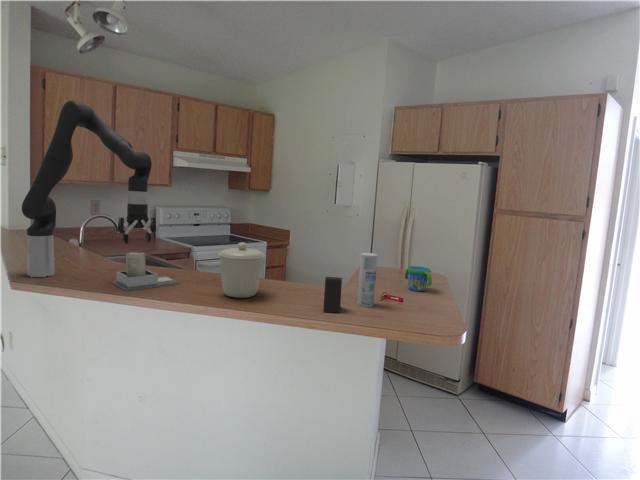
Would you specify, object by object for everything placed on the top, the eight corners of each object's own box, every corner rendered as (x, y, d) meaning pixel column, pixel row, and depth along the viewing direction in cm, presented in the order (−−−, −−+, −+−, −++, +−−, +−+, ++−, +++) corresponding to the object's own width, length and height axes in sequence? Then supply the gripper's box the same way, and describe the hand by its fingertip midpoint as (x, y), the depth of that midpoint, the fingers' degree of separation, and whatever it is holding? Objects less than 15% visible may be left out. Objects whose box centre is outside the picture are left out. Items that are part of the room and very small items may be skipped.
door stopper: (323, 305, 162) (325, 274, 160) (339, 306, 162) (341, 275, 160) (323, 312, 153) (325, 279, 151) (339, 313, 153) (342, 280, 151)
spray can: (362, 307, 162) (366, 255, 159) (354, 302, 168) (357, 252, 165) (376, 306, 165) (380, 255, 162) (368, 301, 171) (372, 252, 168)
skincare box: (146, 282, 175) (146, 253, 173) (140, 284, 171) (140, 254, 169) (131, 280, 176) (131, 251, 174) (125, 283, 171) (125, 253, 170)
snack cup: (437, 293, 191) (439, 271, 190) (417, 294, 187) (419, 272, 185) (416, 285, 205) (418, 264, 204) (397, 286, 201) (399, 265, 200)
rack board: (126, 291, 164) (126, 278, 163) (112, 283, 174) (112, 271, 173) (179, 284, 179) (179, 272, 179) (164, 277, 189) (164, 266, 188)
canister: (223, 302, 157) (225, 246, 154) (212, 290, 173) (213, 239, 170) (269, 299, 165) (272, 245, 162) (254, 287, 181) (256, 238, 178)
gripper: (151, 202, 177) (150, 240, 179) (115, 201, 167) (115, 242, 169) (159, 203, 172) (158, 243, 174) (122, 203, 161) (122, 245, 164)
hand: (137, 242), depth 171 cm, fingers open, 8 cm apart
